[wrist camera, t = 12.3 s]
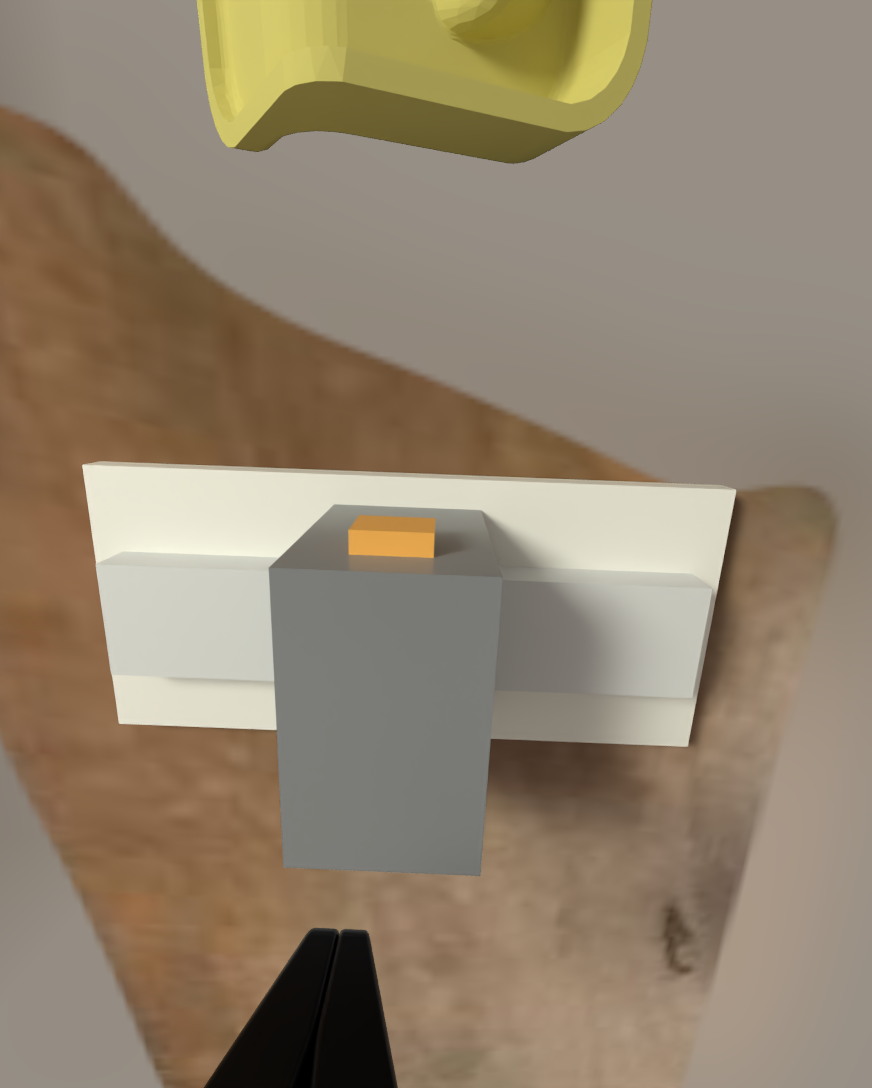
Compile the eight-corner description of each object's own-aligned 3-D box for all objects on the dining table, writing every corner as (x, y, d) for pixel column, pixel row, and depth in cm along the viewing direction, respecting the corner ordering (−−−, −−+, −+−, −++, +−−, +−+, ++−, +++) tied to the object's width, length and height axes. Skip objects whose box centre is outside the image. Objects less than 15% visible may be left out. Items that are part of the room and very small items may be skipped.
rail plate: (676, 730, 21) (706, 773, 19) (133, 708, 21) (94, 748, 19) (721, 485, 19) (762, 497, 16) (100, 461, 19) (50, 470, 16)
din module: (468, 715, 20) (480, 875, 13) (337, 710, 20) (283, 867, 13) (481, 492, 18) (505, 550, 11) (334, 486, 18) (267, 540, 11)
